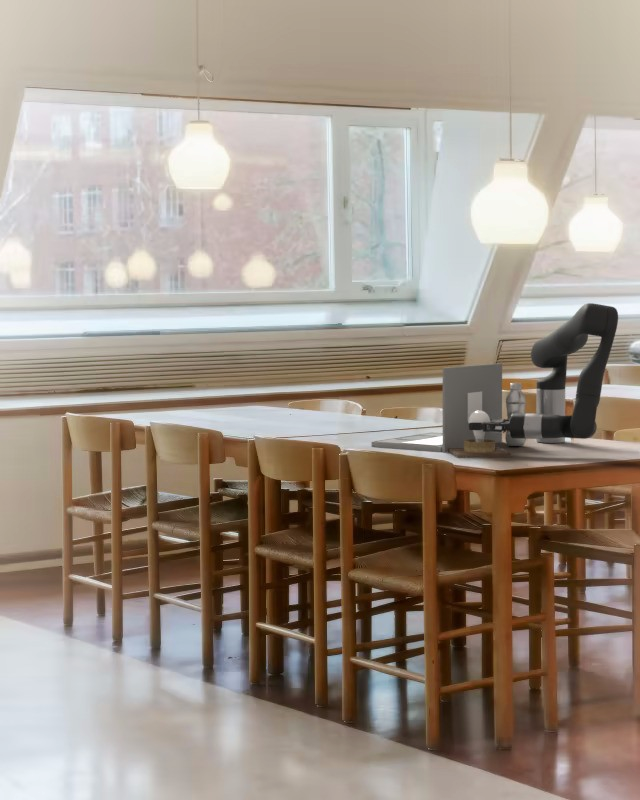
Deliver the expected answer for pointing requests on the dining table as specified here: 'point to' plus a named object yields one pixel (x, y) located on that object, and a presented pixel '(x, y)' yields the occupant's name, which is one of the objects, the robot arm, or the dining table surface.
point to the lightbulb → (479, 418)
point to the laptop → (459, 409)
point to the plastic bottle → (515, 410)
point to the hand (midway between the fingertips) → (471, 425)
